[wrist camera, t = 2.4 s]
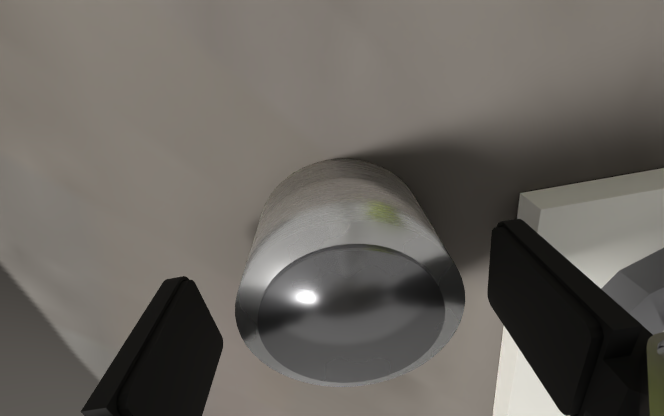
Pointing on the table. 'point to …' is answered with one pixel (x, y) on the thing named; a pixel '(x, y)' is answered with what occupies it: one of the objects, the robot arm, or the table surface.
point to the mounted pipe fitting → (593, 263)
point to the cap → (347, 279)
